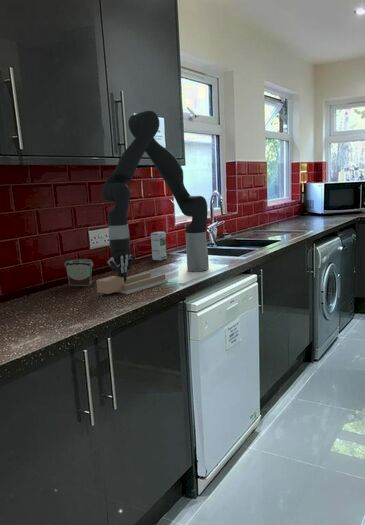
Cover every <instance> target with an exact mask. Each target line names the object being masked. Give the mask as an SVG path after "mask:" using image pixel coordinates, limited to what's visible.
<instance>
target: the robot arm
mask: <svg viewBox="0 0 365 525" xmlns="http://www.w3.org/2000/svg"><path fill="white" fill-rule="evenodd" d="M159 118H160V117H159V116H158V114H157V113H156V112H155V111H153V110H146V111H145V110H144V111H142V112H139V113H135V114H132V115H130V116H129V118H128V128H129V131H130V133H131V135H132V136H133V137H134V139H133V141H131V143H130V145H128V147H127V148H126V149H125V150H124V152H123V153H122V154H121V155H120V158H119V159H118V162H117V165H116V167H115V169H114V171H113V173H112V174H110V176H109V177H108V178H107V179H106V181H105V183H104V184H103V187H102V190H101V196H102V198H103V200H104V201H106V202H108V203H114V208H112V209H110V210H108V212H107V218H108V219H107V220H108V238H109V250H110V251H111V254H110V258H109V259H108V260H106V264H107V265H108V266H109V268H110V269H111V270H112V272H113V273H117V277H124V282H126V280H127V278H128V277H127V273H128V271H130V270H131V268H132V266H133V264H134V261H135V258H136V256H135V255H132V254H131V251H130V249H131V241H130V238H131V237H130V229H129V224H128V222H129V221H128V209H129V204H130V199H131V192H130V191H131V190H130V188H129V186H128V185H127V183H129V182H131V181H132V179H133V177H134V176H135V173H136V171H137V167H138V165H139V164H140V161H141V159H142V157H143V156H144V154H145V153H146V154H147V156H148V157H149V160H150V161H152V163H153V165H154V167H155V168H156V169H157V172H158V173H159V174H160V177H161V178H162V180H163V181H164V182H165V184H166V185H167V187H168V189H169V190H170V192H171V194H172V196H173V197H174V200H175V202H176V204H177V205H178V207H179V210H180V211H181V213H182V214H183V215H184V216H185V217H190V218H191V222H190V223H189V224H187V225H186V226H185V227H184V228H185V229H184V230H185V247H186V248H185V249H186V270H187V271H188V272H204V270H205V271H207V270H208V269H210V268H209V267H210V266H209V263H210V262H209V249H208V246H207V245H208V244H207V243H208V242H207V227H208V202H207V199H206V198H205V197H204V196H202V195H191V194H190V193H189V191H188V190H187V188H186V187H185V183H184V169H183V167H182V165H181V164H180V163H179V160H178V159H177V157H176V156H175V155H174V154H173V153H172V152H171V151H170V150H168V149H167V148H165V147H164V146H163V145H161V143H159V142H158V140H156V138H155V136H156V134H157V133H158V131H159V129H160V124H161V123H160V119H159Z"/></svg>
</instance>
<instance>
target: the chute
mask: <svg viewBox="0 0 365 525" xmlns="http://www.w3.org/2000/svg"><path fill="white" fill-rule="evenodd" d="M168 280H169V279H166V274H165V273H162V274H161V273H160V274H158V275H155V276H152V275H151V272H149V271H147V272H144V273H143V272H142V273H140V274H137V275H132V276H129V277H127V280H126V282H124V285H122V286H123V290H120V291H117V292H116V293H120V294H126V295H129V294H133V293H137V292H139V291H143V290H146V289H149V288H152V287H157V286H159V285H162V284H166V283H168Z"/></svg>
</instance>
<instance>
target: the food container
mask: <svg viewBox="0 0 365 525" xmlns="http://www.w3.org/2000/svg"><path fill="white" fill-rule="evenodd" d="M93 266H94V263H93V261H92V259H88V258H84V259H83V258H80V259H79V258H78V259H71V260H66V261H65V262H64V267H65V270H66V274H67V279H68V285H69V286H78V287H79V286H83V287H86V286H87V287H88V286H92V285H93V284H92V281H93V279H92V277H93V276H92V273H93V271H92V269H93Z"/></svg>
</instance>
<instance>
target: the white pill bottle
mask: <svg viewBox="0 0 365 525" xmlns="http://www.w3.org/2000/svg"><path fill="white" fill-rule="evenodd" d="M150 241H151V255H152V260H154V261H163V260H167V259H168V249H167V234H166V231H155V232H151V233H150Z"/></svg>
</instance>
